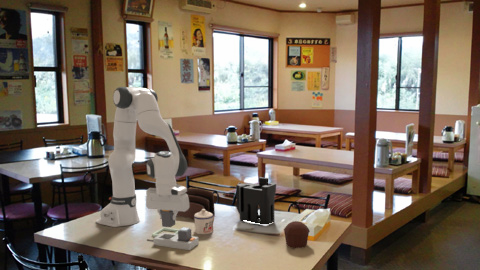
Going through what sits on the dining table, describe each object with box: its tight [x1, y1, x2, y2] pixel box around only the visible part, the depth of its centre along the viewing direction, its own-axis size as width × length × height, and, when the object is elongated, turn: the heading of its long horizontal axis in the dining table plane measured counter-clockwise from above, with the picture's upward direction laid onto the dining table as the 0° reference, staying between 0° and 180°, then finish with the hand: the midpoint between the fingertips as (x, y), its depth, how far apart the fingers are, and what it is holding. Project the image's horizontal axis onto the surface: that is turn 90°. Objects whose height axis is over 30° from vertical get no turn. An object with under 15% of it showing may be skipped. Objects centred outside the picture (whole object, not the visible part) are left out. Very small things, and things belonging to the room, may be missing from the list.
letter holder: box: [176, 187, 215, 220], centre depth 235 cm, size 10×20×14 cm, turn 58°
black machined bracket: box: [235, 176, 277, 224], centre depth 223 cm, size 12×21×22 cm, turn 54°
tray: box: [151, 227, 180, 238], centre depth 205 cm, size 10×10×2 cm
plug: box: [161, 210, 176, 228], centre depth 192 cm, size 4×4×8 cm
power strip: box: [146, 231, 200, 251], centre depth 192 cm, size 24×8×5 cm, turn 68°
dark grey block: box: [178, 226, 192, 242], centre depth 189 cm, size 4×4×8 cm
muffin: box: [283, 220, 311, 249], centre depth 191 cm, size 12×11×10 cm
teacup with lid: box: [194, 209, 215, 235], centre depth 209 cm, size 12×9×12 cm
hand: (168, 219), depth 192 cm, fingers closed on plug, 4 cm apart
